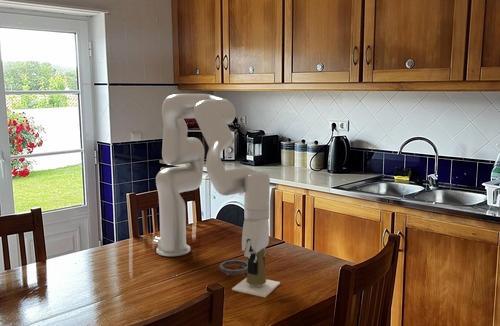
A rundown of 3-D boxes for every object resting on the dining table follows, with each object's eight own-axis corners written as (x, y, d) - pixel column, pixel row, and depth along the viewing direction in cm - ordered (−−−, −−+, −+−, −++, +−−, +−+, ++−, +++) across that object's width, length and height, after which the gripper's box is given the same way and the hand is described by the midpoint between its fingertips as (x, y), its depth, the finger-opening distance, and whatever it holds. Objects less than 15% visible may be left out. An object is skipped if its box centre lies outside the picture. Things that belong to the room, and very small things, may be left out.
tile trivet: (232, 290, 144) (232, 288, 144) (248, 277, 154) (248, 275, 154) (265, 297, 140) (265, 295, 139) (280, 283, 149) (280, 282, 149)
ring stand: (214, 273, 157) (214, 267, 157) (229, 264, 166) (229, 258, 165) (240, 279, 153) (240, 272, 152) (254, 269, 161) (254, 262, 161)
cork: (264, 285, 143) (264, 250, 141) (244, 284, 144) (244, 249, 143) (267, 278, 149) (268, 244, 147) (248, 276, 150) (248, 242, 148)
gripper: (257, 205, 152) (257, 260, 155) (232, 218, 138) (232, 278, 140) (279, 208, 149) (278, 264, 152) (255, 221, 134) (255, 283, 137)
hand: (256, 270), depth 146 cm, fingers closed on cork, 4 cm apart
